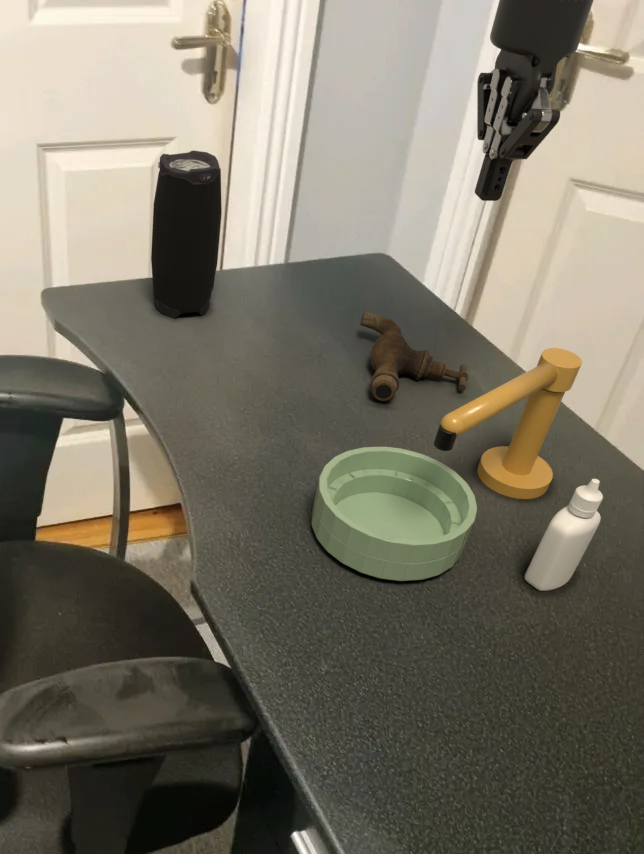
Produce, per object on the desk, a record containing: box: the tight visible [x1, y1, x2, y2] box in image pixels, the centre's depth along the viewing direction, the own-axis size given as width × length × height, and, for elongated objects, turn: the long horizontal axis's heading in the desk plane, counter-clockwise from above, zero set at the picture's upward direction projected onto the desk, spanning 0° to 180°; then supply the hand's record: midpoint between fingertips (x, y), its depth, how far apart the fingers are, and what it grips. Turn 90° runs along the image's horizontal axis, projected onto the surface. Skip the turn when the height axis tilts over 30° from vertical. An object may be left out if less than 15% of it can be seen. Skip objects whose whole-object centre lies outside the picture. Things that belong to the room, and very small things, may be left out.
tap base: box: [476, 388, 566, 500], centre depth 93 cm, size 8×8×12 cm
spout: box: [433, 347, 583, 452], centre depth 83 cm, size 21×4×3 cm, turn 131°
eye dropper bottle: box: [523, 478, 604, 592], centre depth 81 cm, size 4×6×12 cm
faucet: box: [359, 310, 469, 402], centre depth 110 cm, size 5×17×15 cm
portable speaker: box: [150, 149, 223, 319], centre depth 114 cm, size 9×9×20 cm
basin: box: [311, 446, 478, 582], centre depth 86 cm, size 16×16×6 cm
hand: (486, 197), depth 84 cm, fingers closed
